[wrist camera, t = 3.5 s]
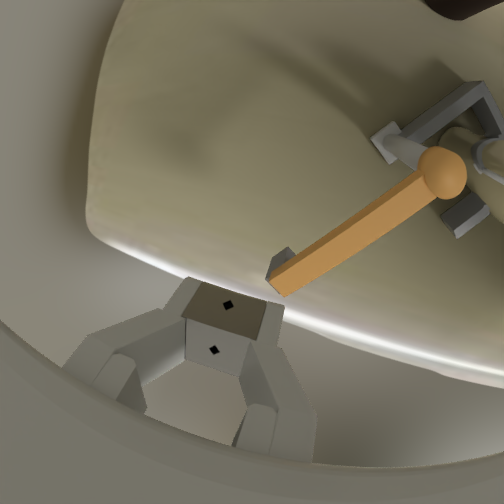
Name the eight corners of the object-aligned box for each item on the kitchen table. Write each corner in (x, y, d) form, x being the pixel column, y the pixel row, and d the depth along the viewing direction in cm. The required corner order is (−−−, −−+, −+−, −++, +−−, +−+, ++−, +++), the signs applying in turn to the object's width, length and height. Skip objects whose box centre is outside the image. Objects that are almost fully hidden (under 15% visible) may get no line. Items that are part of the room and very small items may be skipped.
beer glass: (461, 110, 20) (552, 128, 7) (491, 161, 21) (575, 210, 8) (421, 147, 23) (499, 189, 11) (454, 196, 24) (526, 266, 12)
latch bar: (428, 133, 14) (452, 141, 11) (448, 167, 15) (473, 182, 12) (267, 251, 22) (256, 280, 18) (290, 276, 22) (283, 308, 19)
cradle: (509, 172, 21) (573, 211, 10) (430, 233, 27) (472, 299, 17) (459, 72, 18) (527, 65, 7) (369, 138, 24) (403, 160, 14)
